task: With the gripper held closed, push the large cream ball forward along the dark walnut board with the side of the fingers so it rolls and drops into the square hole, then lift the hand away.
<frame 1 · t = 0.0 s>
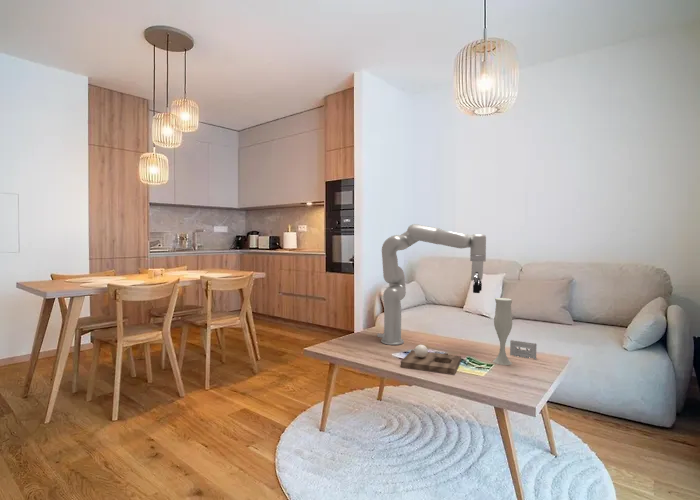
hand: (477, 291, 202), 31 cm above the table, tool pointing down, fingers open, 9 cm apart
vase: (502, 362, 187), on the table
ball: (421, 351, 185), point 5 cm above the table, touching board
board: (431, 364, 183), on the table
cassette: (522, 357, 195), on the table
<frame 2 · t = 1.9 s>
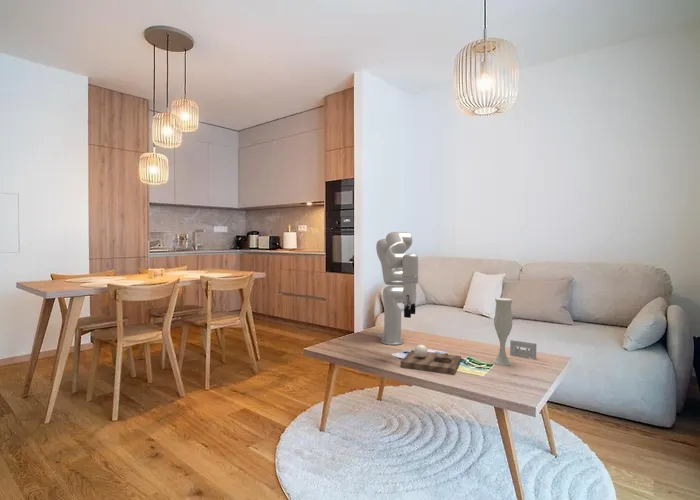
hand: (409, 315, 189), 21 cm above the table, tool pointing down, fingers open, 9 cm apart
nothing on the table moved.
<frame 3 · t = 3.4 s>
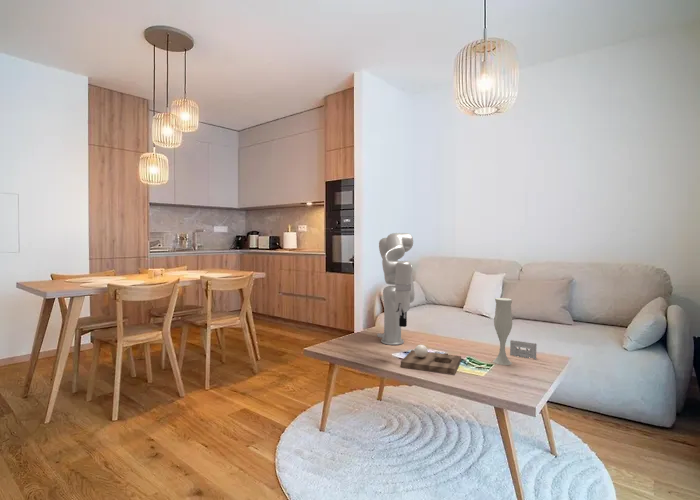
hand: (402, 326, 188), 16 cm above the table, tool pointing down, fingers closed
nothing on the table moved.
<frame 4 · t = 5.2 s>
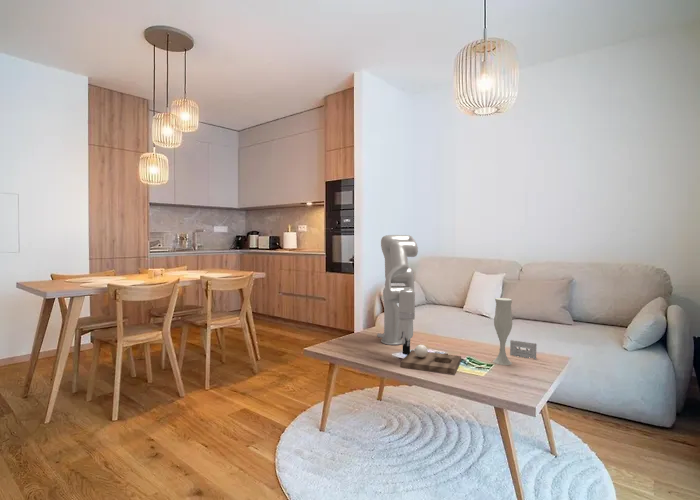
hand: (406, 353, 188), 3 cm above the table, tool pointing down, fingers closed
nothing on the table moved.
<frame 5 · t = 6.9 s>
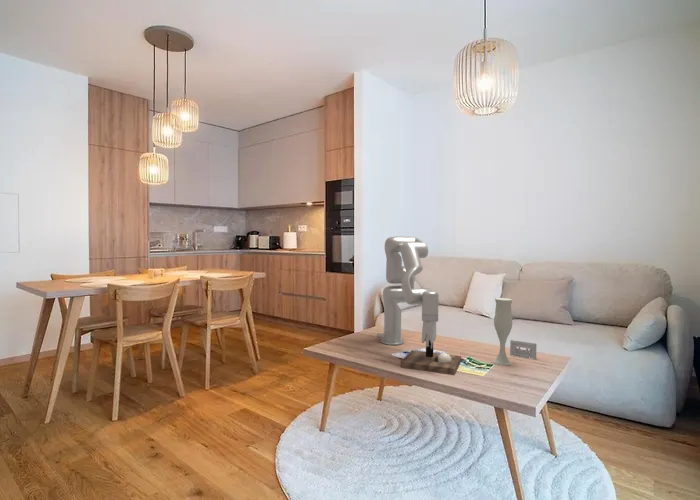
hand: (429, 356, 184), 3 cm above the table, tool pointing down, fingers closed
ball: (444, 359, 180), point 3 cm above the table, tilted 127°
everything else where it was.
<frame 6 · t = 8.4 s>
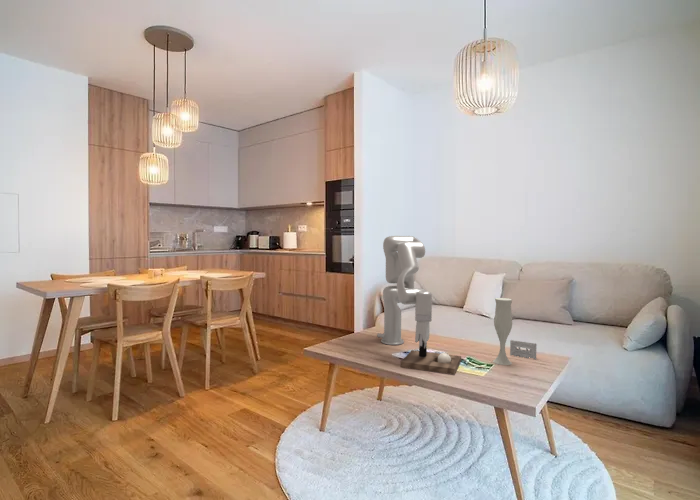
hand: (422, 356, 185), 3 cm above the table, tool pointing down, fingers closed
nothing on the table moved.
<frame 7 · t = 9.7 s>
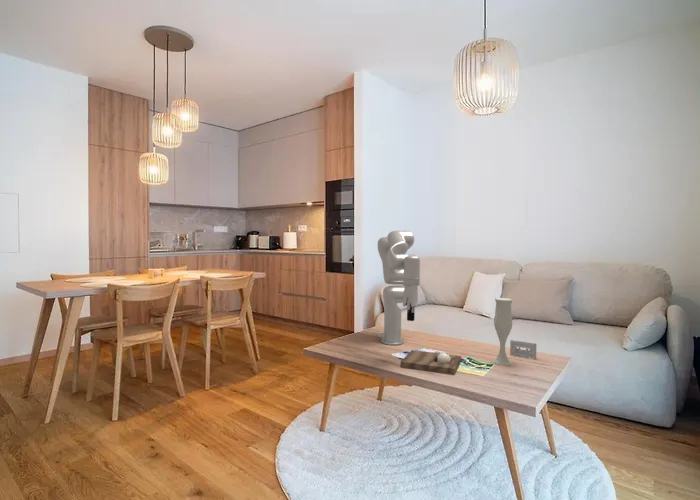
hand: (410, 320, 187), 19 cm above the table, tool pointing down, fingers closed
nothing on the table moved.
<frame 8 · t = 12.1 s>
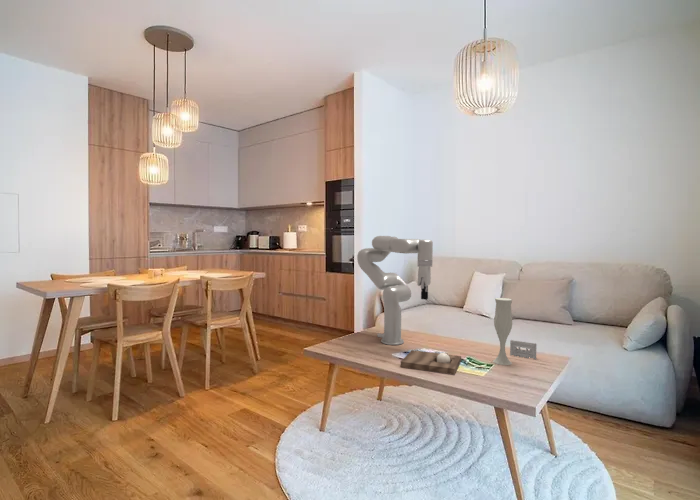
hand: (424, 299, 203), 27 cm above the table, tool pointing down, fingers closed
nothing on the table moved.
at the end: ball 0.7 cm from the target spot on the board, point 3.0 cm above the board's base; vase moved 0.2 cm from its start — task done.
